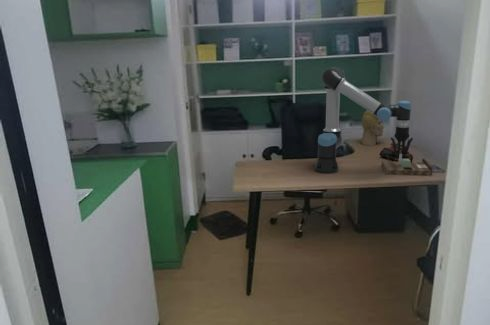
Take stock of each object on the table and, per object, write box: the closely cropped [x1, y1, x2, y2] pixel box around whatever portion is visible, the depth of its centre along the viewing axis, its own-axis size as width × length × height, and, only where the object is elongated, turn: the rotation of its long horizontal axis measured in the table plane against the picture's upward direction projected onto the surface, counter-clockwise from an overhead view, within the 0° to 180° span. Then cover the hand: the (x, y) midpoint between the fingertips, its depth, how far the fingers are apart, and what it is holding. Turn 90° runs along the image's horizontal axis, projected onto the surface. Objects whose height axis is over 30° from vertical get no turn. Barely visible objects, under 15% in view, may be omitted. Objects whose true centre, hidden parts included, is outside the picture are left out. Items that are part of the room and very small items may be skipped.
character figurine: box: [378, 142, 414, 162], centre depth 249 cm, size 17×11×28 cm
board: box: [381, 158, 433, 176], centre depth 228 cm, size 26×19×6 cm
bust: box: [361, 110, 385, 146], centre depth 297 cm, size 18×18×30 cm
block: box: [400, 159, 410, 167], centre depth 228 cm, size 5×5×4 cm
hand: (399, 163), depth 228 cm, fingers closed
